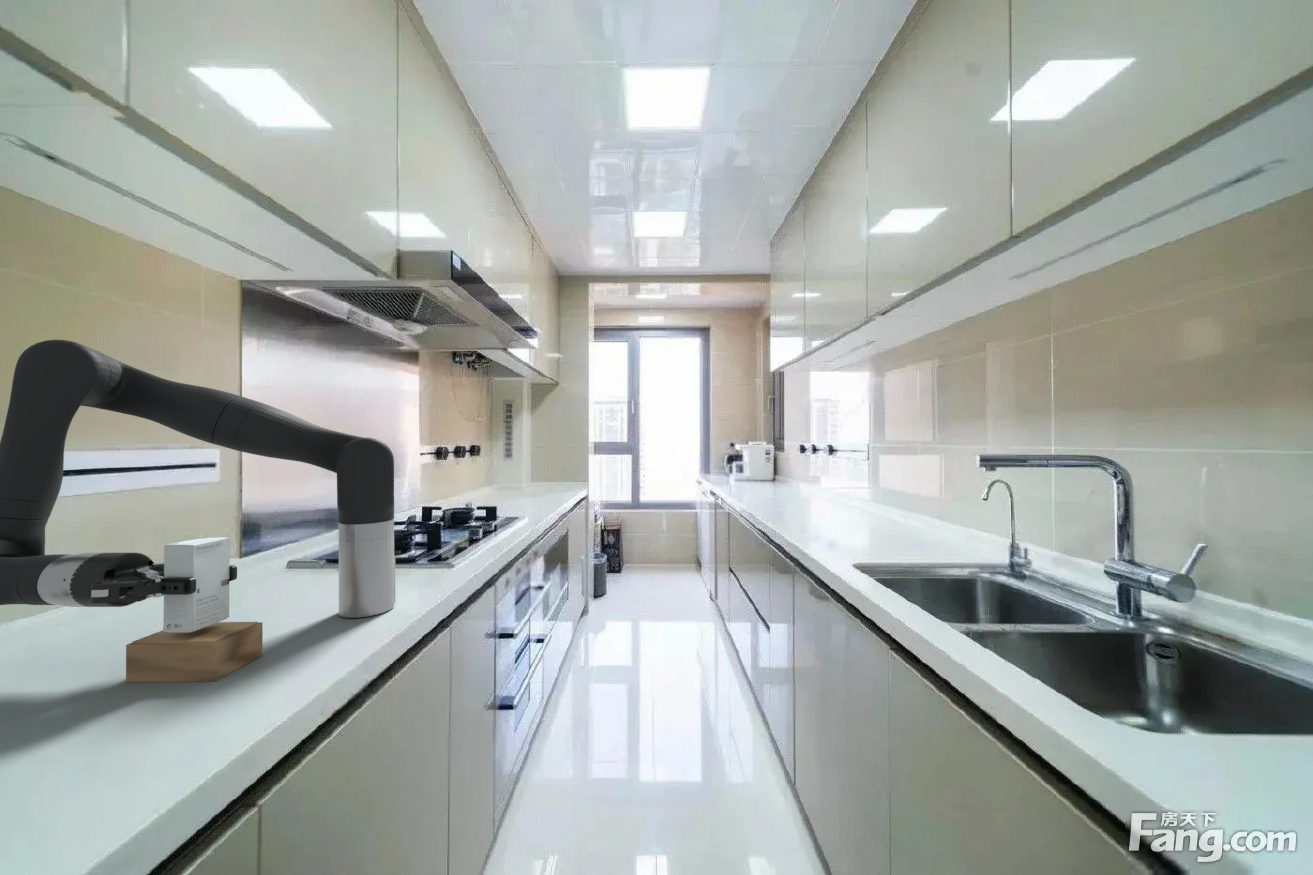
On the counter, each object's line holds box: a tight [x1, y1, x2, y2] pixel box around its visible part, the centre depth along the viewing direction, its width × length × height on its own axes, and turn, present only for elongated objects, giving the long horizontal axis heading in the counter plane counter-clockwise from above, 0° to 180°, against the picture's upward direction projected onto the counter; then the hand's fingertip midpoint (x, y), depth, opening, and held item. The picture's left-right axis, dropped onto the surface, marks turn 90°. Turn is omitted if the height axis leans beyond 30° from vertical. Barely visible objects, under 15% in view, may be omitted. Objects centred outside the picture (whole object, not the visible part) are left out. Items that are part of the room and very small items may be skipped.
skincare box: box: [162, 536, 230, 633], centre depth 70 cm, size 6×4×12 cm
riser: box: [125, 621, 263, 683], centre depth 70 cm, size 8×12×5 cm, turn 90°
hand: (215, 579), depth 70 cm, fingers closed on skincare box, 6 cm apart
